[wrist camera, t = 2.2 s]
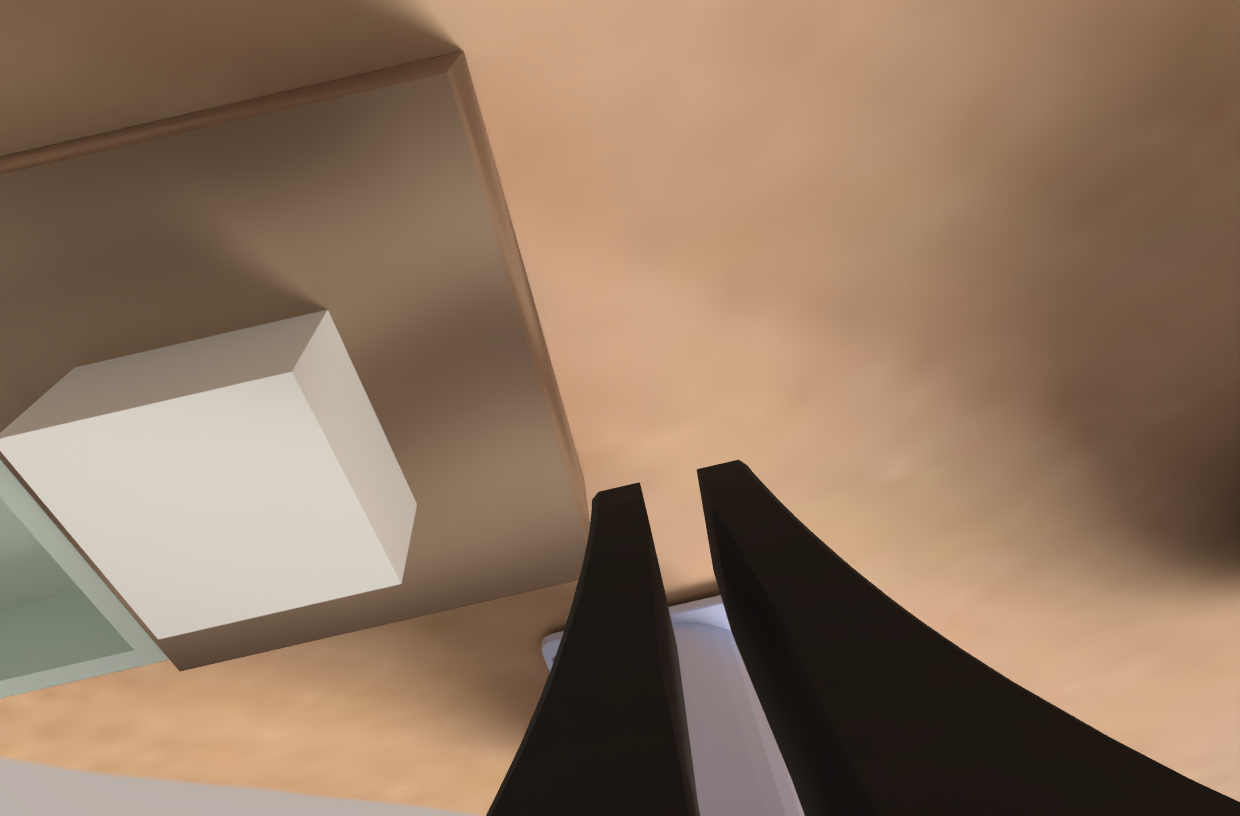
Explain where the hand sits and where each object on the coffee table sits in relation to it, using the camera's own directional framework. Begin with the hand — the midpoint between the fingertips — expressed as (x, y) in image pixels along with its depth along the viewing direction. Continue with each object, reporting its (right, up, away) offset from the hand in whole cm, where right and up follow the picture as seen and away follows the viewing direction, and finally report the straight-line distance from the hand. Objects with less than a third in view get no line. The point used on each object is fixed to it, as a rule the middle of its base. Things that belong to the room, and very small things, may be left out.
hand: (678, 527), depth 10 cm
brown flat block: (-8, +3, +8) cm, 12 cm away
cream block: (-8, +1, +5) cm, 10 cm away
